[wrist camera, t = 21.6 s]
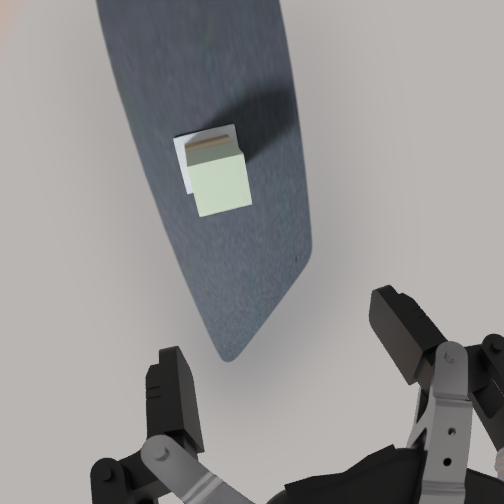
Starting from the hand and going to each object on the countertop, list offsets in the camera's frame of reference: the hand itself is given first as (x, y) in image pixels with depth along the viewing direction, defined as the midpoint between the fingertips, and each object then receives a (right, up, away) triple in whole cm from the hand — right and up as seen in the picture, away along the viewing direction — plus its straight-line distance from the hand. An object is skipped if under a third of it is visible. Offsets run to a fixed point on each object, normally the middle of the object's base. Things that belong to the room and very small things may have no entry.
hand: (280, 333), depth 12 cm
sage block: (-5, +12, +20) cm, 24 cm away
